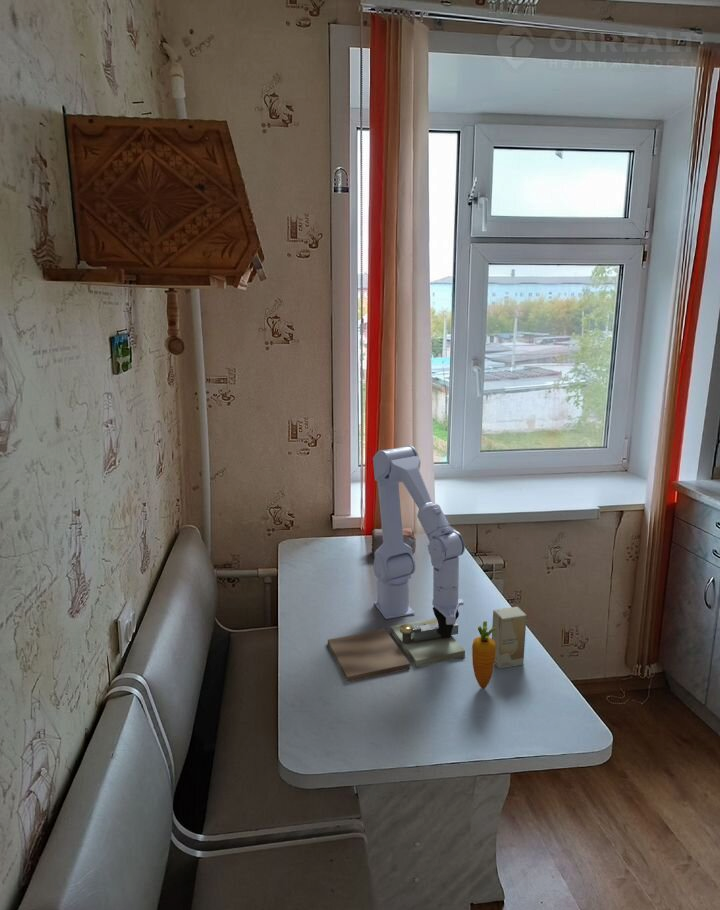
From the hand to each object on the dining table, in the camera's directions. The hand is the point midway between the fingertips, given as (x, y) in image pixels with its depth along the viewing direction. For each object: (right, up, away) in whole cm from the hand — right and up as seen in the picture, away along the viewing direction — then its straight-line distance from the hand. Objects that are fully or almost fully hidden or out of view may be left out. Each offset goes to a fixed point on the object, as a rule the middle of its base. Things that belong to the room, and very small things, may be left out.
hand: (445, 637), depth 146 cm
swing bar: (-4, 0, +1) cm, 4 cm away
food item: (-9, +10, +54) cm, 56 cm away
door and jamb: (-12, -3, 0) cm, 12 cm away
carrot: (+6, -6, -15) cm, 18 cm away
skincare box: (+13, -4, -6) cm, 15 cm away
